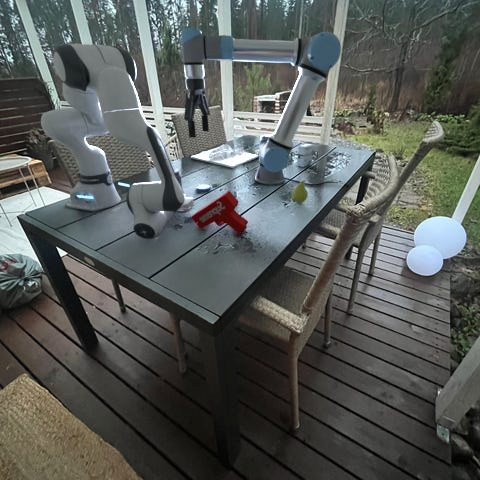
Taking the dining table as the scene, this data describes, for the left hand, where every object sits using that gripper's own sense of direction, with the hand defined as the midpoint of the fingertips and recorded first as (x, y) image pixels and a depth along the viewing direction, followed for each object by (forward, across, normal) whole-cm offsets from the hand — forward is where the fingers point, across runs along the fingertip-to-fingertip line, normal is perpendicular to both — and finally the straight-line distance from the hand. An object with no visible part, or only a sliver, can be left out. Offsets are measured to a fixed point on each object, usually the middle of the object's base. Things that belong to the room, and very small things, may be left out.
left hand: (174, 195), depth 113 cm
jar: (+3, 0, +6) cm, 7 cm away
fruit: (+13, -53, +7) cm, 55 cm away
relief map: (+78, -8, +6) cm, 79 cm away
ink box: (+68, -58, +7) cm, 90 cm away
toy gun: (-14, -22, +7) cm, 27 cm away
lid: (+22, -7, +5) cm, 23 cm away
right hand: (+22, -7, -20) cm, 31 cm away
